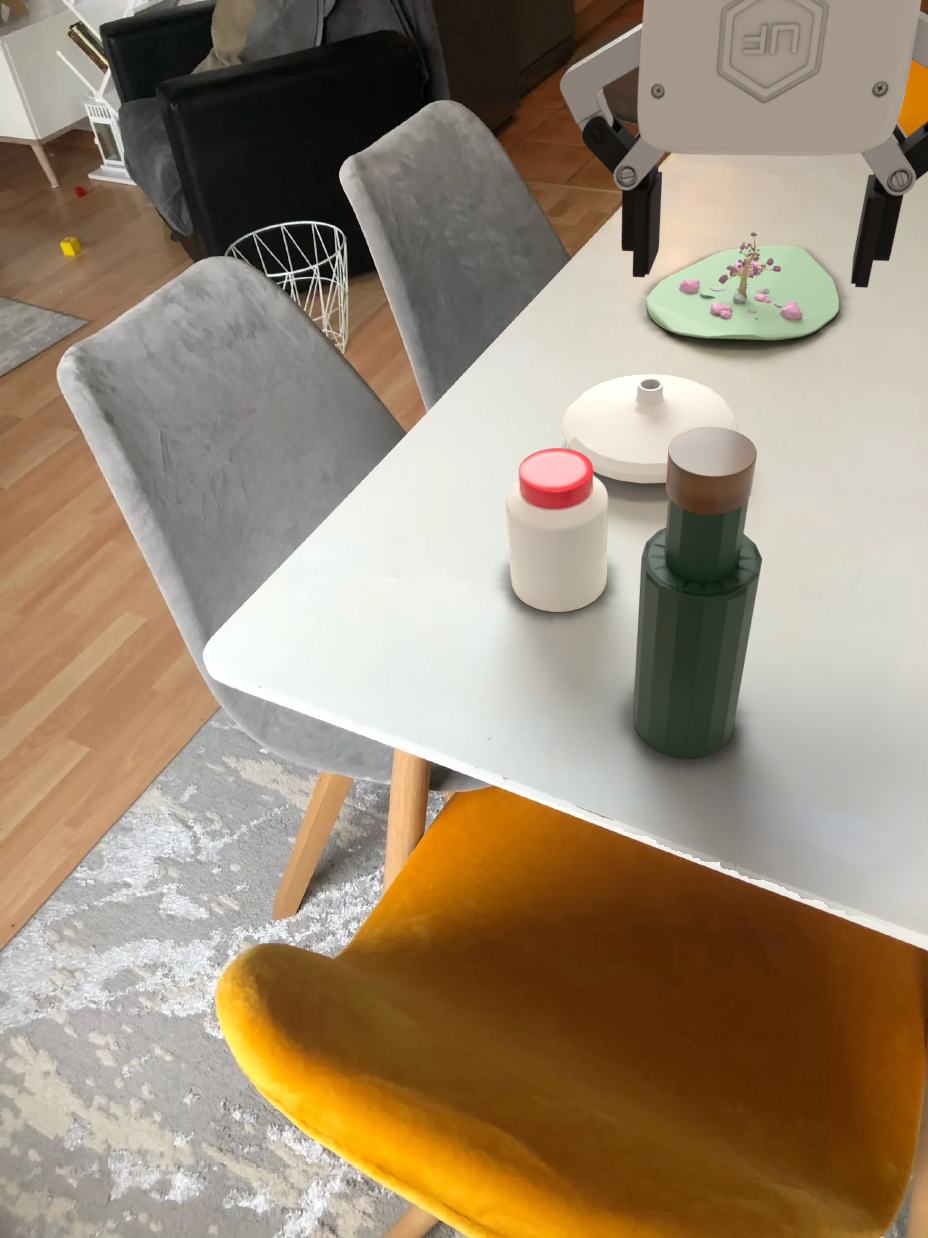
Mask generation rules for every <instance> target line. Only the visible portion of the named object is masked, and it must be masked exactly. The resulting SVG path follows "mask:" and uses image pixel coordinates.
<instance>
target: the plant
mask: <svg viewBox="0 0 928 1238" xmlns="http://www.w3.org/2000/svg"><path fill="white" fill-rule="evenodd" d="M750 236H751V237H753V246H752V243H749V242H748V243H747V244H746V242H742V244H741V245H740V246H739V247H735V248H731V249H727V250H723V251H720V252H717V253H714V254H712V255H709V256H708V257H706V258H704V259H701V260H699V261H697V262H695V263H693V264H691V265H689V266H687V267H685V268H683V269H680V270H679V271H677V272H675V273H673V274H671V275H668V276H667V277H665V278H664V279H662V280H660V282H658V284H656V285H655V287H654V288H653V289H652V290H651V292H650V293H649V294H648V296H647V297H646V299H645V303H646V308H647V312H648V314H649V316H650V318H651V320H653V322H654V323H656V325H658V326H659V327H660V328H662V329H664V330H667V331H668V332H671V333H674V334H677V335H680V336H687V337H693V338H702V339H723V340H724V339H726V340H754V341H755V340H756V341H780V340H781V341H782V340H789V339H795V338H802V337H805V336H807V335H810V334H813V333H814V332H816V331H818V330H820V329H821V328H823V327H824V326H825V325H827V324H828V323H829V322H830V321H831V320H833V319H834V318H835V317H836V316H837V314H838V312H839V309H840V299H839V295H838V291H837V290H838V289H837V287H836V284H835V282H834V279H833V278H832V276H831V275H830V274H829V273H828V272H827V271H826V270H825V269H824V268H823V267H822V266H821V265H820V264H819V263H818V262H817V261H816V260H815V258H814V257H813V256H811V254H810V253H809V252H808V251H807V250H806V249H805V248H802V247H800V246H797V245H792V244H773V245H771V244H770V245H759V246H757V243H756V238H755V237H757V236H758V234H757V233H756V232H755V231H754V232H751V233H750Z"/></svg>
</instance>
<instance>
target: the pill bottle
mask: <svg viewBox="0 0 928 1238" xmlns="http://www.w3.org/2000/svg"><path fill="white" fill-rule="evenodd" d="M505 514H506V525H507V526H506V527H507V529H506V530H507V543H508V553H509V556H508V557H509V568H510V570H509V571H510V581H511V586H512V590H513V592H514V594H515V595H516V597H518V599H520V600H521V601H522V603H525V604H526V605H528V606H530V607H532V608H533V609H537V610H540V611H542V612H543V611H544V612H551V613H565V612H570V611H575V610H580V609H582V608H585V607H586V606H589V605H590V604H592V603H593V602H595V601H596V600H597V599H598V598H599V597H600V596H601V595H602V594H603V592H604V590H605V588H606V586H607V581H608V579H607V578H608V536H609V535H608V533H609V532H608V529H609V527H608V526H609V525H608V524H609V494H608V491H607V488H606V486H605V485H604V483H603V482H602V481H601V480H600V479H599V478H597V477H596V476H595V475H594V471H593V465H592V462H591V461H590V460H589V458H587V457H586V456H585V455H584V454H582V453H580V452H578V451H575V450H571V449H569V448H564V447H552V448H551V447H550V448H545V449H540V450H538V451H536V452H532V453H531V454H530V455H527V457H526V458H524V459H523V460H522V462H520V465H519V467H518V478H517V480H515V481H514V482H512V484H511V486H510V487H509V488H508V490H507V492H506V496H505Z"/></svg>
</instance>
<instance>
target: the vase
mask: <svg viewBox="0 0 928 1238" xmlns="http://www.w3.org/2000/svg"><path fill="white" fill-rule="evenodd" d="M561 420H562V421H561V422H562V423H561V425H562V427H561V428H562V429H561V431H562V432H561V433H562V436H563V438H564V440H565V443H566V445H567V447H568V449H571V450H575V451H578V452H580V453H582V454H584V455H585V456H586V457H587V458H589V460H590V461H591V462H592V465H593V473H594V472H595V473H596V474H598V475H602V476H603V477H607V478H610V479H613V480H617V481H621V482H627V483H628V482H629V483H636V484H662V483H663V484H666V474H667V460H668V449H669V445H670V443H671V442H672V440H673V439H674V438H675V437H677V436H678V435H680V434H681V433H683V432H686V431H688V430H691V429H695V428H701V427H719V428H725V429H730V430H733V431H736V432H738V428H739V427H738V423H737V422H738V421H737V418H736V414H735V412H734V411H733V410H732V408H731V407H730V406H729V404H728V403H727V402H726V401H725V399H724V398H723V397H722V396H721V395H719V394H718V393H716V392H715V391H714V390H713V389H711V388H710V387H709V386H706V385H704V384H701V383H698V382H697V381H695V380H692V379H688V378H683V377H680V376H675V375H668V374H667V375H666V374H658V373H657V374H656V373H655V374H654V373H651V374H650V373H649V374H647V373H646V374H632V375H627V376H626V375H625V376H621V377H615V378H612V379H610V380H607V381H603V382H600V383H598V384H596V385H594V386H592V387H590V388H589V389H588V390H585V391H583V392H582V394H581V395H579V397H578V398H577V399H576V400H575V401H574V402H573V403H572V404H571V405H570V406H568V408H567V410H566V412H565V414H564V416H563V418H562V419H561Z"/></svg>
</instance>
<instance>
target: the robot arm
mask: <svg viewBox="0 0 928 1238" xmlns="http://www.w3.org/2000/svg"><path fill="white" fill-rule="evenodd" d="M921 4H922V0H643V10H642V11H643V12H642V22H641V23H640V24H637V26H635V27H633V28H632V29H630V30H628V31H626V32H624V33H623V34H621V35H620V36H619V37H617V38H615V39H613V40H612V41H610V42H609V43H607V44H606V45H603V46H602V47H600V48H599V49H597V50H596V51H594V52H592V53H591V54H589V55H587V56H586V57H584V58H582V59H581V60H579V61H578V62H576V63H575V64H573V65H571V66H570V67H569V68H568V69H567V70H566V72H565V73H564V74H563V76H562V77H561V79H560V81H559V90H560V93H561V95H562V97H563V99H564V101H565V103H566V105H567V107H568V109H569V111H570V113H571V115H572V117H573V119H574V121H575V124H576V125H578V128H579V129H580V132H581V134H582V135H581V139H582V141H583V143H584V145H585V146H586V148H588V149H589V151H590V152H591V153H592V154H593V155H594V156H595V157H596V159H598V160H599V161H600V162H601V163H602V165H603V166H604V167H605V168H606V169H607V170H608V171H609V172H610V173H611V174H612V175H613V181H614V184H615V186H616V187H617V188H619V189H620V190H621V239H620V240H621V243H620V244H621V245H620V246H621V251H622V252H632V277H633V278H645V277H646V275H647V276H648V275H650V273H651V270H652V268H653V265H654V263H655V262H656V261H655V260H656V258H657V255H658V253H659V248H660V238H661V237H660V236H661V235H660V234H661V233H660V232H661V211H662V210H661V209H662V188H663V171H659V165H657V163H658V162H659V161H661V158H662V157H663V156H664V155H665V154H666V153H670V154H678V155H699V156H700V155H702V156H775V157H776V156H778V157H779V156H790V157H791V156H794V157H795V156H796V157H798V156H801V157H802V156H803V157H804V156H806V157H807V156H809V157H810V156H811V157H812V156H813V157H814V156H815V157H816V156H819V157H821V156H822V157H824V156H826V157H827V156H828V157H829V156H848V155H856V154H861V156H862V158H863V159H864V160H865V162H866V164H867V165H868V167H869V168H870V169H871V171H872V172H873V174H868V176H867V182H866V186H865V192H864V193H865V194H864V198H863V203H862V209H861V213H860V217H859V218H860V219H859V224H858V228H857V229H858V230H857V235H856V240H855V245H854V251H853V257H852V266H851V277H850V284H851V285H854V287H855V288H863V289H865V288H866V289H867V288H869V283H870V278H871V274H872V268H873V263H874V261H877V262H890V259H891V254H892V251H893V246H894V242H895V236H896V232H897V227H898V222H899V217H900V214H901V209H902V204H903V199H904V195H905V194H908V193H909V192H910V191H911V190H912V189H913V188H914V186H915V184H916V181H918V180H919V179H920V178H921V177H923V176H924V175H925V174H927V173H928V120H927V121H925V122H923V124H921V126H919V127H918V128H917V129H915V130H914V131H913V132H912V133H911V134H909V135H907V133H906V132H905V130H904V128H903V127H902V126H901V124H900V123H899V121H898V120H899V118H900V114H901V112H902V107H903V103H904V100H905V95H906V90H907V85H908V80H909V75H910V70H911V67H912V66H911V65H912V62H915V63H917V64H918V65H921V66H922V67H924V68H926V69H927V70H928V14H927V13H925V12H923V11H922V10H921ZM637 68H638V81H637V82H638V83H637V107H636V110H637V113H636V114H637V126H638V132H637V134H636V135H634V134H633V132H631V131H630V129H628V127H627V126H626V125H625V123H623V122H622V121H621V119H620V118H619V117H618V116H617V115H616V114H615V113H614V112H613V111H612V110H611V109H610V107H609V106H608V103H607V99H606V97H605V94H604V87H607V86H608V85H610V84H612V83H613V82H615V81H617V80H618V79H620V78H622V77H623V76H626V75H627V74H628V73H631V72H632V71H634V70H636V69H637Z"/></svg>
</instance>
